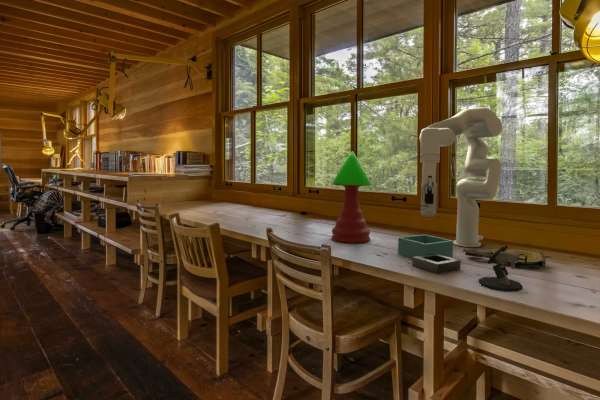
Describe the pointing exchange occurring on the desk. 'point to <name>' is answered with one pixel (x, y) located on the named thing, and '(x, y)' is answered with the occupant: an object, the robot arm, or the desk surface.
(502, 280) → the gun turret
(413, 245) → the teal bin
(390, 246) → the desk surface
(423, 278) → the desk surface
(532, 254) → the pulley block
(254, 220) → the desk surface
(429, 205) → the energy drink can
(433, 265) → the steel collar
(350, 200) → the table lamp
